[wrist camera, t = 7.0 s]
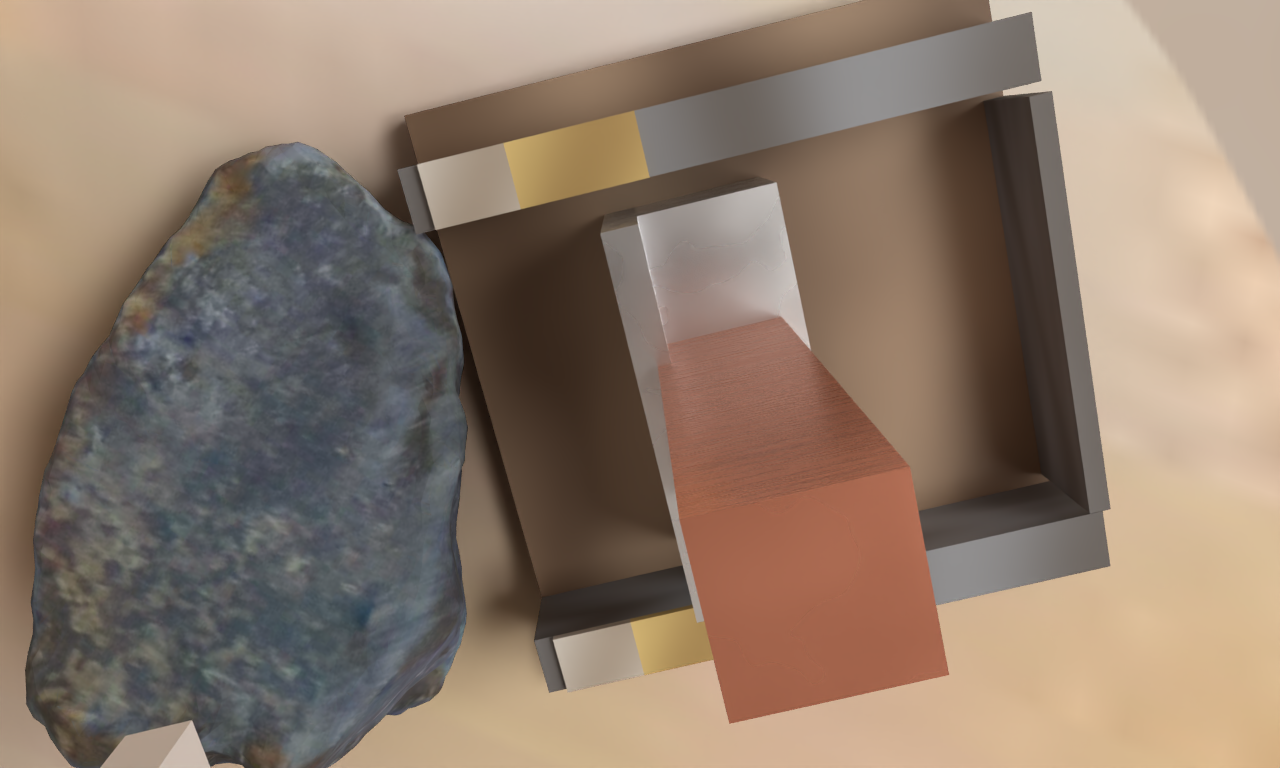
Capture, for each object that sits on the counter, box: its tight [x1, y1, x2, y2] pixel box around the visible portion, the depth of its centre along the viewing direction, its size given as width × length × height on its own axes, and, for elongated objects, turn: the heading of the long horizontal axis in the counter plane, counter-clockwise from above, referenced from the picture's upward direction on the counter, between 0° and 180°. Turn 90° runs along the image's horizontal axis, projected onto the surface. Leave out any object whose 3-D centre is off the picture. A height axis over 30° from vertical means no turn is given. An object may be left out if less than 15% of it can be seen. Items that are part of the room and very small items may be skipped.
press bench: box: [397, 0, 1110, 693], centre depth 26 cm, size 14×16×4 cm
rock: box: [25, 142, 468, 768], centre depth 27 cm, size 16×8×10 cm
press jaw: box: [600, 177, 949, 723], centre depth 20 cm, size 4×9×14 cm, turn 14°
